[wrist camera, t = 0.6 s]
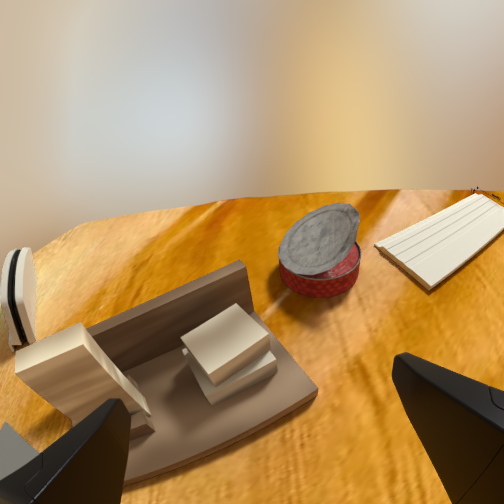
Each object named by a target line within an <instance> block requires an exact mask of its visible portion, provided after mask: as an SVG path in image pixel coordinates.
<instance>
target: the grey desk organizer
mask: <svg viewBox="0 0 504 504" xmlns="http://www.w3.org/2000/svg"><path fill="white" fill-rule="evenodd" d="M235 303H236V304H237V305H239V306H240V307H241V308H242V309H243V310H244V311H245V312H246V313H247V314H248V315H249V316H250V317H251V318H252V319H253V320H255V321H256V322H257V323H258V324H259V325H260V326H261V327H262V328H263V329H264V330H265V331H267V332H268V333H269V339H270V346H271V349H270V352H271V353H272V354H273V355H274V357H275V358H276V361H277V369H278V372H276V373H275V374H273V375H271V376H269V377H268V378H266V379H264V380H262V381H260V382H259V383H257V384H255V385H253V386H251V387H249V388H247V389H246V390H244V391H242V392H240V393H238V394H236V395H234V396H232V397H230V398H228V399H226V400H224V401H222V402H220V403H218V404H216V405H214V406H212V405H211V404H210V402H209V401H208V399H207V398H206V396H205V394H204V393H203V391H202V389H201V387H200V385H199V383H198V381H197V379H196V377H195V375H194V373H193V371H192V369H191V367H190V365H189V363H188V361H187V359H186V357H185V355H184V353H183V351H182V350H183V349H185V348H186V347H185V345H184V343H183V341H182V339H181V337H182V336H184V335H185V334H187V333H189V332H190V331H192V330H194V329H195V328H197V327H198V326H200V325H202V324H203V323H205V322H207V321H208V320H210V319H211V318H213V317H215V316H216V315H218V314H220V313H221V312H223V311H224V310H226V309H228V308H229V307H231V306H232V305H234V304H235ZM86 330H87V331H88V333H89V334H90V335H91V337H92V338H93V339H94V340H95V342H96V343H97V344H98V345H99V347H100V348H101V349H102V350H103V352H104V353H105V354H106V355H107V356H108V358H109V359H110V360H111V361H112V362H113V364H114V365H115V366H116V367H117V368H118V369H119V370H120V372H121V373H122V374H123V375H124V376H125V377H126V378H127V379H128V381H129V382H130V383H131V384H132V385H133V386H134V387H135V388H136V389H137V390H138V391H139V392H140V393H141V394H142V395H143V396H144V397H145V400H146V402H147V405H148V408H149V410H150V413H151V416H149V417H147V416H146V415H145V414H144V413H142V412H139V413H137V414H134V415H131V430H130V442H129V455H128V462H127V467H126V473H125V478H124V484H123V486H127V485H130V484H133V483H136V482H140V481H143V480H146V479H149V478H152V477H155V476H157V475H160V474H163V473H166V472H168V471H171V470H174V469H176V468H179V467H181V466H184V465H186V464H189V463H191V462H194V461H196V460H198V459H201V458H203V457H205V456H208V455H210V454H212V453H214V452H216V451H219V450H221V449H223V448H225V447H227V446H229V445H231V444H233V443H235V442H237V441H239V440H241V439H243V438H245V437H247V436H249V435H251V434H253V433H255V432H257V431H258V430H260V429H262V428H264V427H266V426H268V425H269V424H271V423H273V422H275V421H276V420H278V419H280V418H282V417H283V416H285V415H287V414H288V413H290V412H292V411H293V410H295V409H297V408H298V407H300V406H301V405H303V404H305V403H306V402H308V401H309V400H311V399H312V398H314V397H316V396H317V394H318V387H317V386H316V385H315V384H314V383H313V381H312V380H311V379H310V378H309V377H308V376H307V374H306V373H305V372H304V371H303V370H302V368H301V367H300V366H299V365H298V364H297V362H296V361H295V360H294V359H293V358H292V356H291V355H290V354H289V353H288V352H287V350H286V349H285V348H284V347H283V346H282V344H281V343H280V342H279V341H278V339H277V338H276V337H275V336H274V335H273V333H272V332H271V331H270V330H269V328H268V327H267V326H266V325H265V323H264V322H263V321H262V320H261V319H260V317H259V316H258V315H257V314H256V312H255V311H254V307H253V302H252V296H251V291H250V286H249V280H248V275H247V269H246V266H245V265H244V264H243V263H242V262H241V260H238V261H236V262H234V263H231V264H229V265H227V266H225V267H223V268H220V269H218V270H216V271H214V272H211V273H209V274H207V275H205V276H203V277H200V278H198V279H196V280H194V281H191V282H189V283H187V284H185V285H183V286H180V287H178V288H176V289H174V290H171V291H169V292H167V293H165V294H163V295H160V296H158V297H156V298H154V299H151V300H149V301H147V302H145V303H143V304H140V305H138V306H136V307H134V308H131V309H129V310H127V311H125V312H123V313H120V314H118V315H116V316H114V317H111V318H109V319H107V320H105V321H102V322H100V323H98V324H96V325H94V326H91V327H89V328H87V329H86ZM72 425H73V427H74V426H75V425H77V423H76V422H74V421H73V420H72Z"/></svg>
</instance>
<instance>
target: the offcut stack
mask: <svg viewBox="0 0 504 504" xmlns="http://www.w3.org/2000/svg"><path fill="white" fill-rule="evenodd" d="M181 339H182V341H183V343H184V345H185V347H186V348H185V349H183V350H182V351H183V353H184V355H185V357H186V359H187V361H188V363H189V365H190V367H191V369H192V371H193V373H194V375H195V377H196V379H197V381H198V383H199V385H200V387H201V389H202V391H203V393H204V394H205V396H206V398H207V399H208V401H209V402H210V404H211V405H212V406H214V405H216V404H218V403H220V402H222V401H224V400H226V399H228V398H230V397H232V396H234V395H236V394H238V393H240V392H242V391H244V390H246V389H247V388H249V387H251V386H253V385H255V384H257V383H259V382H260V381H262V380H264V379H266V378H268V377H269V376H271V375H273V374H275V373H276V372H278V369H277V361H276V358H275V357H274V355H273V354H272V353H271V352H270V349H271V346H270V339H269V333H268V332H267V331H265V330H264V329H263V328H262V327H261V326H260V325H259V324H258V323H257V322H256V321H255V320H253V319H252V318H251V317H250V316H249V315H248V314H247V313H246V312H245V311H244V310H243V309H242V308H241V307H240V306H239V305H237V304H236V303H235V304H234V305H232V306H231V307H229V308H228V309H226V310H224V311H223V312H221V313H220V314H218V315H216V316H215V317H213V318H211V319H210V320H208V321H207V322H205V323H203V324H202V325H200V326H198V327H197V328H195V329H194V330H192V331H190V332H189V333H187V334H185V335H184V336H182V337H181Z"/></svg>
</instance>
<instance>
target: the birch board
mask: <svg viewBox="0 0 504 504" xmlns="http://www.w3.org/2000/svg"><path fill="white" fill-rule="evenodd" d="M15 374H16V375H17V376H18V377H19V378H20V379H21V380H22V381H23V382H25V383H26V384H27V385H28V386H29V387H30V388H31V389H33V390H34V391H35V392H36V393H37V394H39V395H40V396H41V397H42V398H43V399H45V400H46V401H47V402H49V403H50V404H51V405H52V406H54V407H55V408H56V409H58V410H59V411H60V412H62V413H63V414H64V415H66V416H67V417H68V418H70V419H71V420H73V421H74V422H76V423H77V424H78V423H79V422H80V421H82V420H83V419H84V418H85V417H87V416H88V415H89V414H90V413H91V412H93V411H94V410H95V409H96V408H98V407H99V406H100V405H101V404H103V403H104V402H105V401H106V400H107V399H109V398H120V399H121V400H122V401H123V402H124V404H125V406H126V408H127V410H128V411H129V413H130V415H134V414H137V413H139V412H142V413H144V414H145V415H146V416H147V417H149V416H151V413H150V410H149V408H148V405H147V402H146V400H145V397H144V396H143V395H142V394H141V393H140V392H139V391H138V390H137V389H136V388H135V387H134V386H133V385H132V384H131V383H130V382H129V381H128V379H127V378H126V377H125V376H124V375H123V374H122V373H121V372H120V370H119V369H118V368H117V367H116V366H115V365H114V364H113V362H112V361H111V360H110V359H109V358H108V356H107V355H106V354H105V353H104V352H103V350H102V349H101V348H100V347H99V345H98V344H97V343H96V342H95V340H94V339H93V338H92V337H91V335H90V334H89V333H88V331H87V330H86V329H85V327H84V326H83V325H82V323H81V322H80V323H77V324H75V325H73V326H71V327H69V328H66V329H64V330H62V331H60V332H58V333H55V334H53V335H51V336H49V337H47V338H44V339H42V340H40V341H38V342H36V343H33V344H31V345H29V346H27V347H25V348H22V349H20V350H18V351H16V358H15Z"/></svg>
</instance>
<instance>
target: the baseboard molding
mask: <svg viewBox="0 0 504 504" xmlns="http://www.w3.org/2000/svg"><path fill="white" fill-rule="evenodd" d="M477 189H478V187H477ZM471 191H472V190H471ZM474 191H475V190H473V192H474ZM483 192H484V191H483ZM485 193H486V192H485ZM488 195H489V194H488ZM492 195H493V194H492ZM490 196H491V195H490ZM493 196H494V197H495V195H493ZM494 197H493V198H494ZM496 198H498V201H499V200H500V199H499V197H498V196H496V197H495V199H496ZM501 203H502V202H501ZM503 204H504V203H503ZM503 230H504V208H503V207H502V206H499V205H498V204H497V203H495V202H493V201H491V199H488V198H487V197H485V196H484V195H482V194H481V195H477V194H476V193H475V194H473V195H471V196H469V197H467V198H465V199H464V200H462V201H460V202H458V203H456V204H454V205H452V206H450V207H448V208H446V209H444V210H442V211H440V212H438V213H436V214H434V215H433V216H431V217H429V218H427V219H425V220H423V221H421V222H419V223H417V224H415V225H412V226H410V227H408V228H406V229H404V230H402V231H400V232H398V233H396V234H394V235H392V236H390V237H388V238H386V239H384V240H382V241H379V242H377V243H375V244H374V246H375V247H377V248H378V249H379V250H380V251H382V252H383V253H384V254H385V255H387V256H388V257H389V258H390V259H392V260H393V261H394V262H395V263H397V264H398V265H399V266H400V267H401V268H403V269H404V270H405V271H406V272H407V273H409V274H410V275H411V276H412V277H413V278H414V279H416V280H417V281H418V282H419V283H420V284H421V285H423V286H424V287H425V288H426V289H427V290H428V291H429V290H430V289H432V288H433V287H434V286H436V285H437V284H439V283H440V282H441V281H443V280H444V279H445V278H446V277H448V276H449V275H450V274H452V273H453V272H454V271H456V270H457V269H458V268H459V267H461V266H462V265H463V264H464V263H466V262H467V261H468V260H469V259H470V258H472V257H473V256H474V255H475V254H476V253H478V252H479V251H480V250H481V249H482V248H484V247H485V246H486V245H487V244H488V243H489V242H490V241H492V240H493V239H494V238H495V237H496V236H497V235H498V234H499V233H500V232H502V231H503Z"/></svg>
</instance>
